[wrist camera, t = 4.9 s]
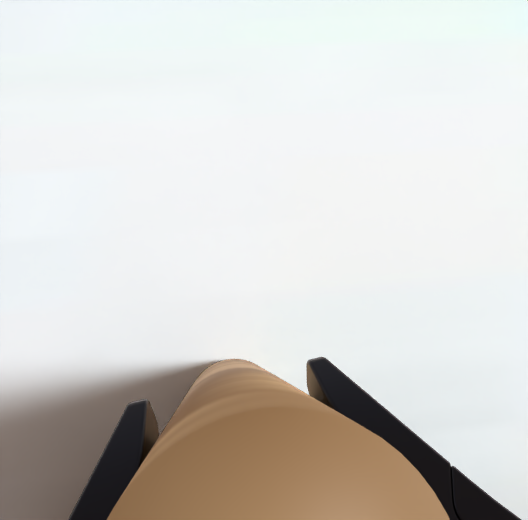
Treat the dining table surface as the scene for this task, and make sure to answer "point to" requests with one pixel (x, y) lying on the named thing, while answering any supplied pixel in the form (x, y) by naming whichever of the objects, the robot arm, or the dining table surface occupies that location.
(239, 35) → the dining table surface
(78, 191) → the dining table surface
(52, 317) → the dining table surface
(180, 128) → the dining table surface
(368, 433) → the oak rod
